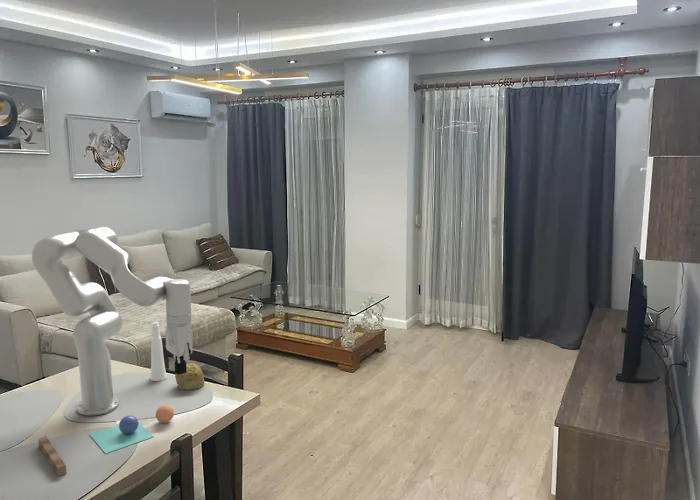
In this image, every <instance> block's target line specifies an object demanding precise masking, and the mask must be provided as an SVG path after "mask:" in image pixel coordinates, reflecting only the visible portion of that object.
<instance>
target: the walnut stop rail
mask: <svg viewBox="0 0 700 500" xmlns="http://www.w3.org/2000/svg"><path fill="white" fill-rule="evenodd" d="M37 440H38V447H39V449H40V450H41V452H42V454H43V455H44V456H45V458H46V460H47V461H48V463H49V464H50V466H51V467H52V469H53V471H54V472H55V473H56V475H57V477H61V476H64V475H66V474H65V473H67V466H66V463H65V462H64V461H63V459H62V457H61V456H60V455H59V453H58V452H57V450H56V449H55V447H54V445H53V444H52V442H51V441H50V440H49V438H48V437H47V436H46V435H45V436H42V437H38V439H37ZM63 474H64V475H63Z"/></svg>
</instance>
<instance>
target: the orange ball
mask: <svg viewBox="0 0 700 500" xmlns="http://www.w3.org/2000/svg"><path fill="white" fill-rule="evenodd" d="M174 415H175V411H174V408H173V407H172V406H171V405H170V404H169V405H168V404H163V405H161V406H159V407H158V408H157V409H156V411H155V418H156V420H157V421H158V422H159V423H162V424H165V423H166V424H167V423H169V422H171V421H172V419H173V418H174Z"/></svg>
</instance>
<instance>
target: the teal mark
mask: <svg viewBox="0 0 700 500" xmlns="http://www.w3.org/2000/svg"><path fill="white" fill-rule="evenodd" d="M138 423H139V424H138V428H137V430H136V431H135V432H134V433H132V434H124V433H122V432H121V431H120V429H119V424H116V425H115V426H111V427H108V428H105V429H102V430H99V431H95V432H92V433H90V434H89V436H90V437H91V438H92V440H93V441H94V442H95V443H96V445H98V447H99V448H100V450H102V451H104V452H103V453H104V454H109V453H112V452H116V451H118V450H121V449H123V448H127V447H129V446H133V445H136V444H137V443H138V444H139V443H140V442H143V441H146V440H148V439H153V438H155V437H154V435H153V434H152V433H151V432H149V431H148V429H146V428H145V426H144V425H142V424H141V422H139V421H138Z"/></svg>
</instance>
